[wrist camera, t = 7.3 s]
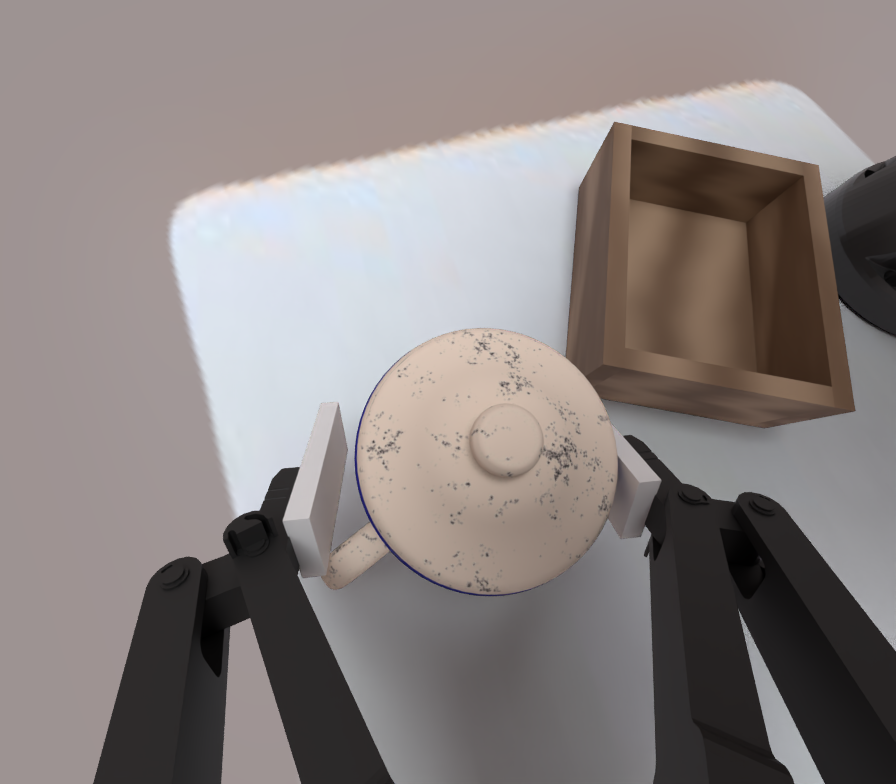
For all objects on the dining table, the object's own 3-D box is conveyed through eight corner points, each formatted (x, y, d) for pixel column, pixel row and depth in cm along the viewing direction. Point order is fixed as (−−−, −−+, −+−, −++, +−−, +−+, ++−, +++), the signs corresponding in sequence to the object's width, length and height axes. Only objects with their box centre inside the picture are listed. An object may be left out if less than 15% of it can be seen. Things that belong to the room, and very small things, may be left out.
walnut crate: (748, 222, 30) (818, 165, 25) (764, 428, 26) (855, 411, 20) (579, 187, 30) (614, 121, 25) (563, 391, 25) (602, 364, 20)
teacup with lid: (472, 360, 23) (526, 232, 11) (571, 481, 21) (744, 468, 10) (301, 484, 20) (154, 475, 9) (401, 632, 19) (377, 845, 7)
